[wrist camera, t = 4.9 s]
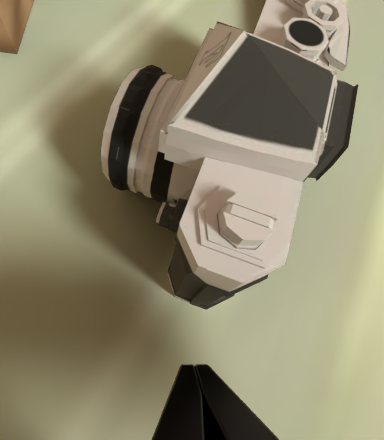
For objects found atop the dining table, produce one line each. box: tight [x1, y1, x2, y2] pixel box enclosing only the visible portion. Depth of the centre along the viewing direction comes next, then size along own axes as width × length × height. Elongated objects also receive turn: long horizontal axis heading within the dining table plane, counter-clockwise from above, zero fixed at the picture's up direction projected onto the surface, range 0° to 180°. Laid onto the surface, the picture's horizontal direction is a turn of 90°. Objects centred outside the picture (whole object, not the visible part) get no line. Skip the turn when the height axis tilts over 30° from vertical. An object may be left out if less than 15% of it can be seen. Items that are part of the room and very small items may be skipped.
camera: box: [101, 0, 358, 309], centre depth 14 cm, size 16×9×10 cm, turn 161°
